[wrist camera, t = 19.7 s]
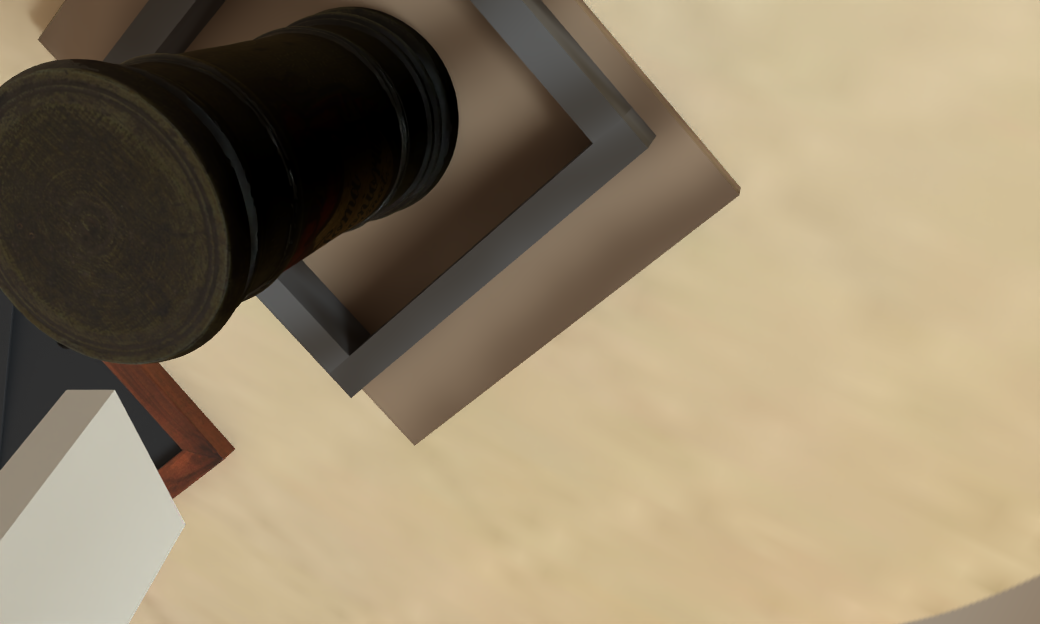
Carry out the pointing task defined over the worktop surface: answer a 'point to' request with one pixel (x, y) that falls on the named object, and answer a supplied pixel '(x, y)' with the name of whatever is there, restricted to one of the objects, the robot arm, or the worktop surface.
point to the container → (208, 174)
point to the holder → (467, 192)
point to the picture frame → (141, 389)
